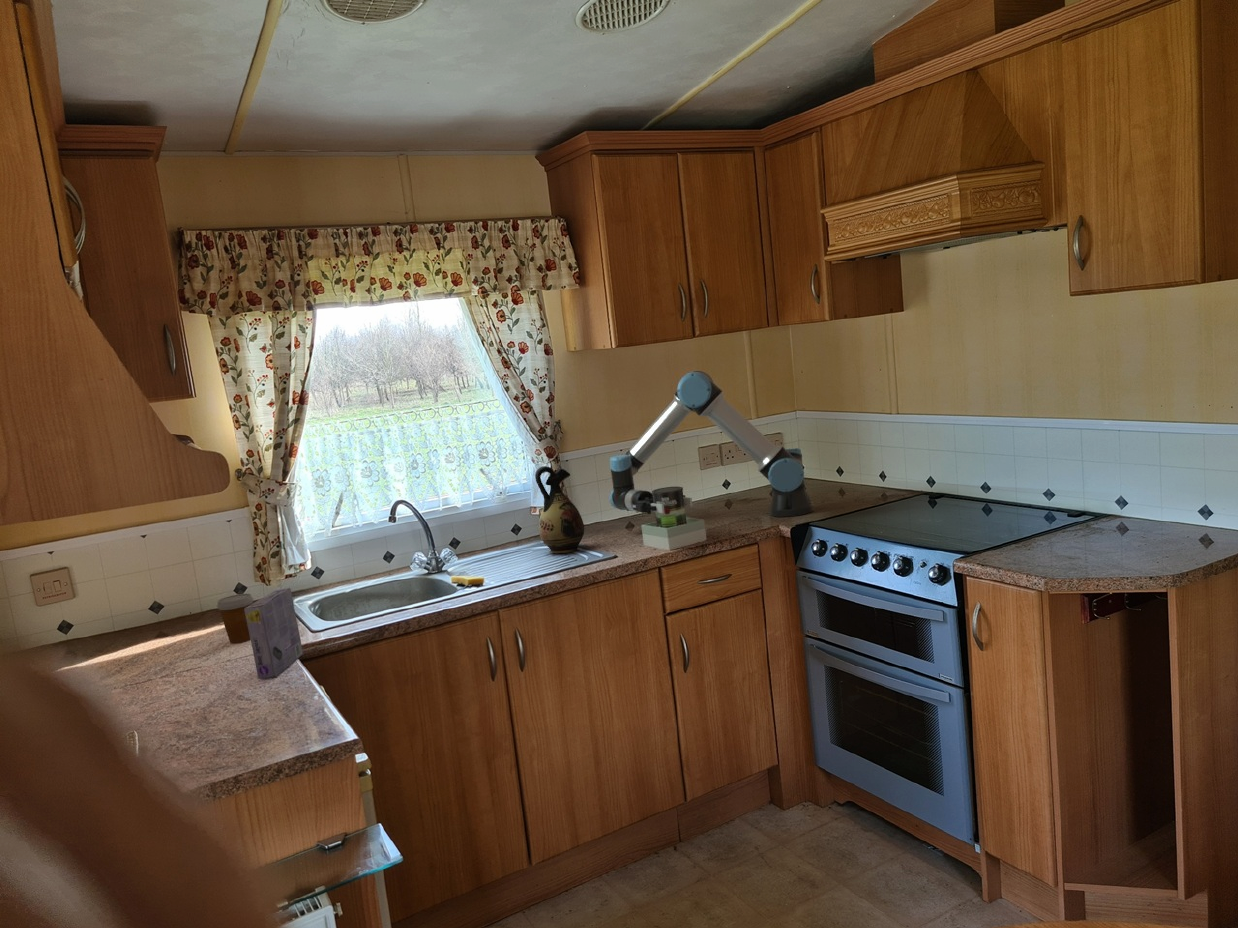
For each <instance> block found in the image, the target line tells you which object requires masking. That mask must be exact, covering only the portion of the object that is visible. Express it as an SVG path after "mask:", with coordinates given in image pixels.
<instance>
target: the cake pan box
mask: <svg viewBox="0 0 1238 928" xmlns="http://www.w3.org/2000/svg"><path fill="white" fill-rule="evenodd" d="M244 611H245V616H246V621H247V626H248V630H249V635H250V640H249V641H250V643H251V644H250V645H251V648H252V654H253V659H254V663H255V664H254V665H255V669H256V673H257V679H260V680H262V679H273V678H277V677H278V676H279V675H281V673H283V672H284V671H285V670H286V669H288V668H290V666H292V665H293V664H294V662H296V661H297V660H298V659H299V658H300V657H302V656H303V655H304V651H303V645H302V641H301V636H300V630H299V624H298V620H297V616H296V609H295V605H294V599H293V594H292V590H291V588H290V587H287V588H283V589H279V590H273V591H272V592H271V593H269V594H267V595H265V596H263V597H261V598H260V599H258V600H257V601H255V602H253V603H252V604H251V605H250V606H248V607H246V608H244Z"/></svg>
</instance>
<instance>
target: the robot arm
mask: <svg viewBox="0 0 1238 928" xmlns="http://www.w3.org/2000/svg"><path fill="white" fill-rule="evenodd" d="M673 397H674V398H673V400H672V401H671V402H669V404H668V405H667V407H665V408H664V410H663V411H662V412H661V413H660V414H659V415H658V417H656V419H654V421H653V422H652V424H650V425H649V427H648V428H647V429H646V430H645V431H644V432H643V433H642V434H641V436H640V437H639V438H638V439H637V441H635V442H634V444H632V446H631V447H630V448H629V449H628V451H627V452H626V453H625V454H621V455H620V454H619V455H614V456H611V457H610V458H609V464H610V465H609V468H610V474H611V481H612V482H611V483H612V491H611V492H610V495H609V498H608V499H609V503H610V505H611V506H612V507H613V508H614V509H617V510H620V511H630V512H635V513H636V514H638V513H641V514H644V513H645V514H646V515H651V514H652V513H655V512H657V513H665V512H664V505H663V504H654V501H653V494H652V491H648V490H642V489H635V483H634V476H635V475H636V474H637V473H638V472H639V470H640V469H641V468H642V467H643V466H644V464H645V463H646V462H647V461H648V460H649V459H650V458H651V456H653V455H654V453H655V452H657V450H658V449H659V448H660V447H661V446H662V444H663V443H664V442H665V441H666V439H667V438H669V436H670V435H672V433H673V432H674V431H675V430H676V429H677V428H678V426H680V424H681V423H683V421H684V420H685V419H686V418H687V416H688V415H689V414H690V413H695V414H697V415H698V416H699V417H702V418H703V417H705V418H707V419H709V421H711V423H713V424H714V425H715V426H716V427H717V428H718V429H720V430H721V432H722V433H724V434H725V435H726V436H727V437H728V438H729V439H730V440H731V441H732V442H733V443H734V444H736V445H737V447H738V448H740V449H741V450H742V451H743V452H744V453H745V454H746V455H747V456H748V457H750V458H751V459H752V460H753V461H754V462H755V463H756V465H757V470H758V472H759V473H760V474H761V475H763V477H764V478H765V479H767V480H768V481H769V483H770V486H771V489H772V495H771V501H770V506H769V515H770V516H772V517H783V518H785V517H795V516H796V517H797V516H803V515H807V514H809V513H811V512H813V504H812V502H811V499H810V497H809V495H808V492H807V490H806V483H805V482H806V481H805V472H804V465H803V454H802V450H801V449H800V448H798V447H796V448H795V447H794V448H785V447H783V446H782V445H775V444H774V443H772V441H770V440H769V439H768V438H767V437H766V436H765V435H764V434H763V433H762V432H761V431H760V430H759V429H757V427H756V426H754V425H753V424H752V423H751V422H750V421H749V420H748V419H746V417H744V416H743V414H741V412H739V411H738V410H737V409H736V408H735V407H734V406H733V405H731V404H730V403H729V402H728V401H727V400H726V399H725V398H724V391H723V390H722V389H721V388H720V387H719V386H717V385H716V384H715V383H714V380H713V378H712V377H711V376H710V375H709V374H708V373H707V372H704V371H700V370H695V371H690V372H688V373H685V374H684V376H682V377H681V378H680V380H679V381H678V384H677V388H676V392H675V393H674V395H673ZM683 496H684V504H685V507H693V498H692V497H686V495H685V494H683Z"/></svg>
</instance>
